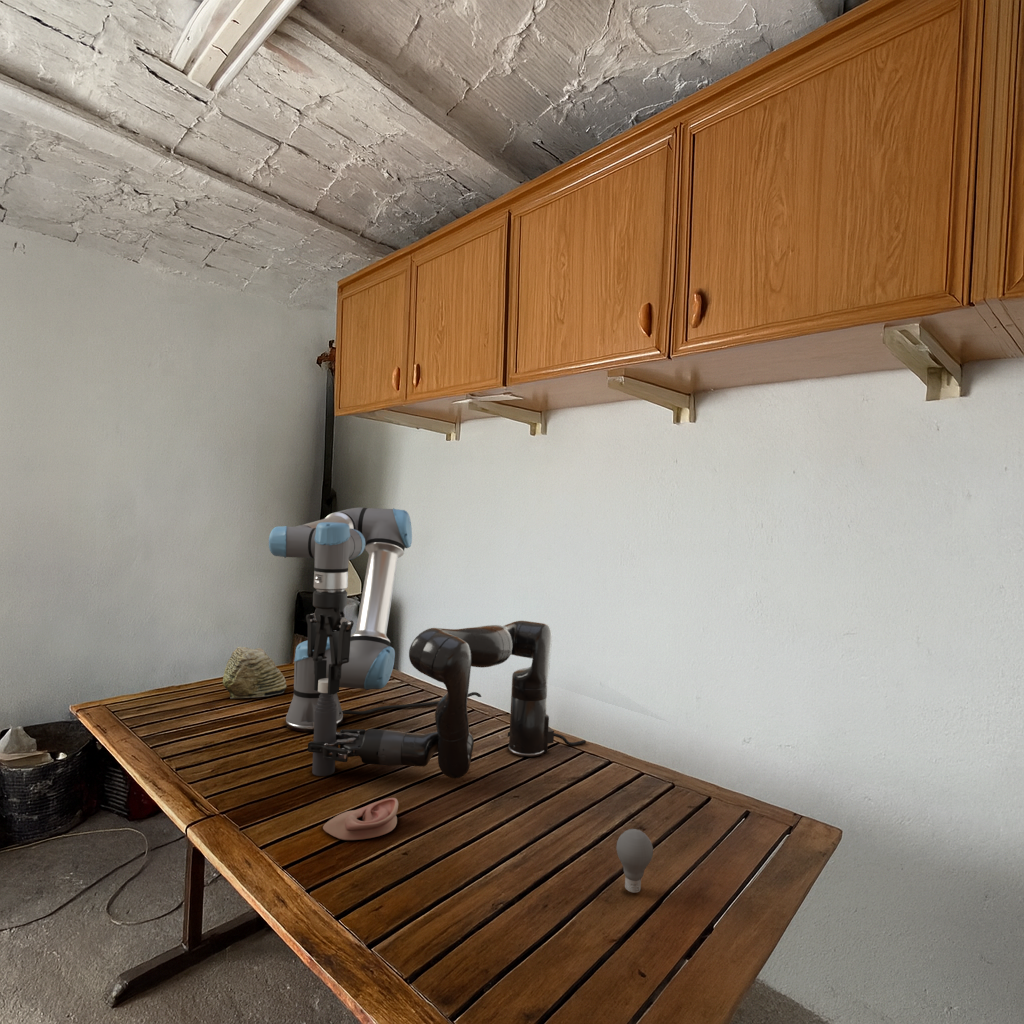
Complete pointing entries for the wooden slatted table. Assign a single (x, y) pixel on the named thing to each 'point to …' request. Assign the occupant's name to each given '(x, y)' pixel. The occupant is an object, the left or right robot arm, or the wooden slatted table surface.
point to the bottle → (324, 732)
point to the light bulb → (634, 857)
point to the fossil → (252, 674)
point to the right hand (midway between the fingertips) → (313, 741)
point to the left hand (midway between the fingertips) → (326, 690)
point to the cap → (323, 685)
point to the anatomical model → (364, 821)
